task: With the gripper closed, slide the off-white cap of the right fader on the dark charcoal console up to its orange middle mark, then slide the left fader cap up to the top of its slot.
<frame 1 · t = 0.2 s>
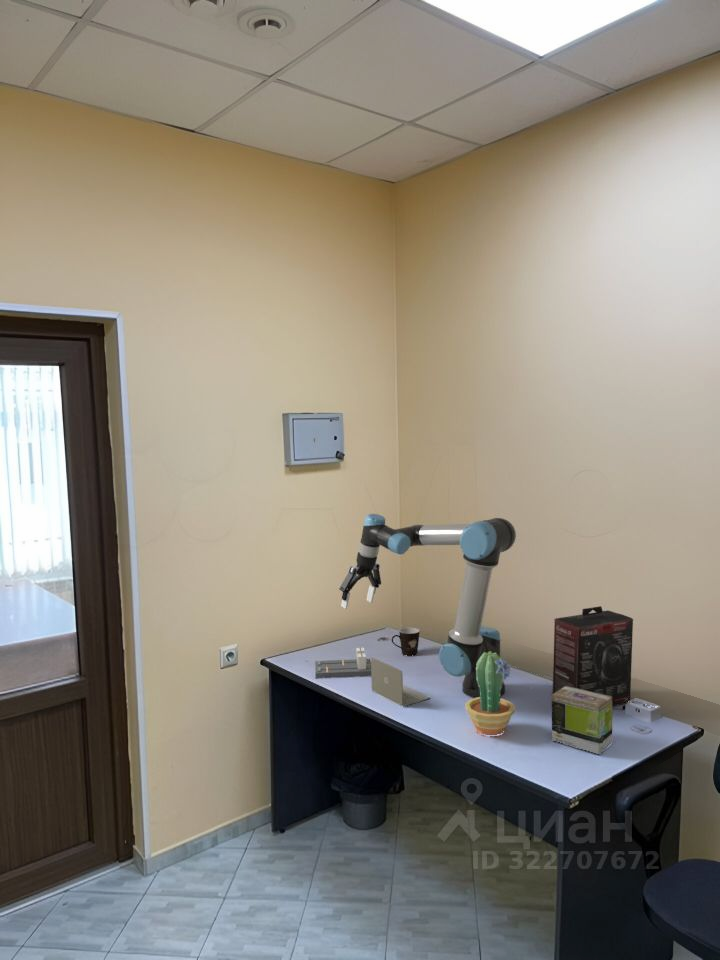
hand: (356, 604, 269), 27 cm above the table, tool tilted 15°, fingers open, 13 cm apart
tea box: (581, 743, 208), on the table
console: (343, 670, 273), on the table
laptop: (400, 696, 248), on the table
coffee mug: (406, 654, 292), on the table
fader right: (360, 655, 277), point 5 cm above the table, slide at 0.0 cm
fader left: (361, 661, 270), point 5 cm above the table, slide at 0.0 cm
headset box: (592, 703, 237), on the table
potted cactus: (489, 731, 217), on the table
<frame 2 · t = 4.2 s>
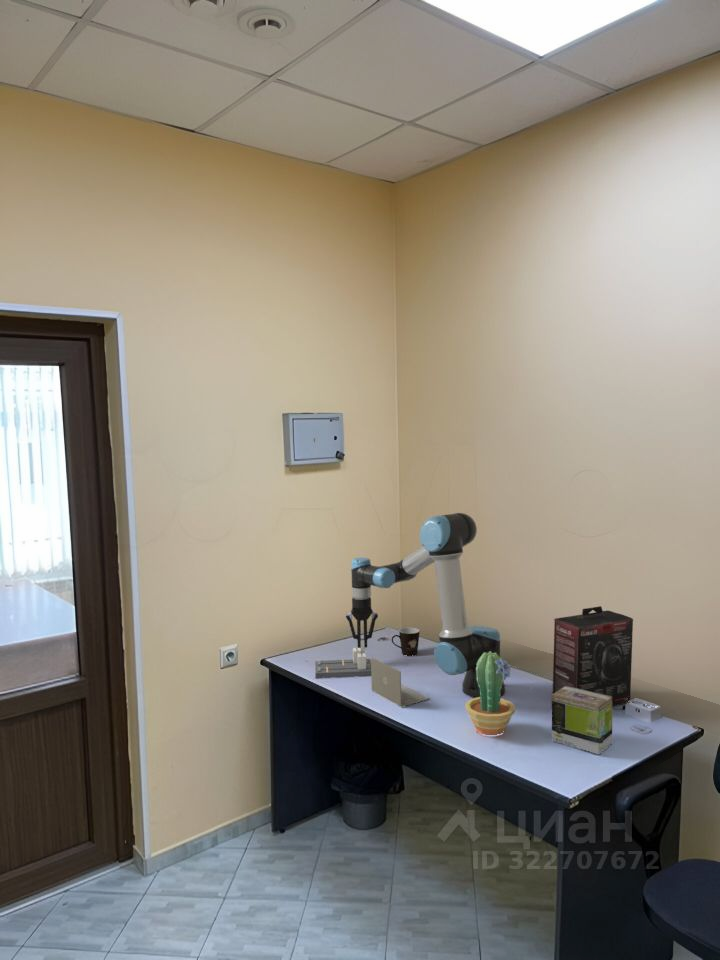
hand: (362, 655, 277), 5 cm above the table, tool pointing down, fingers closed
fader right: (357, 655, 277), point 5 cm above the table, slide at 1.4 cm, touching gripper
everything else where it was.
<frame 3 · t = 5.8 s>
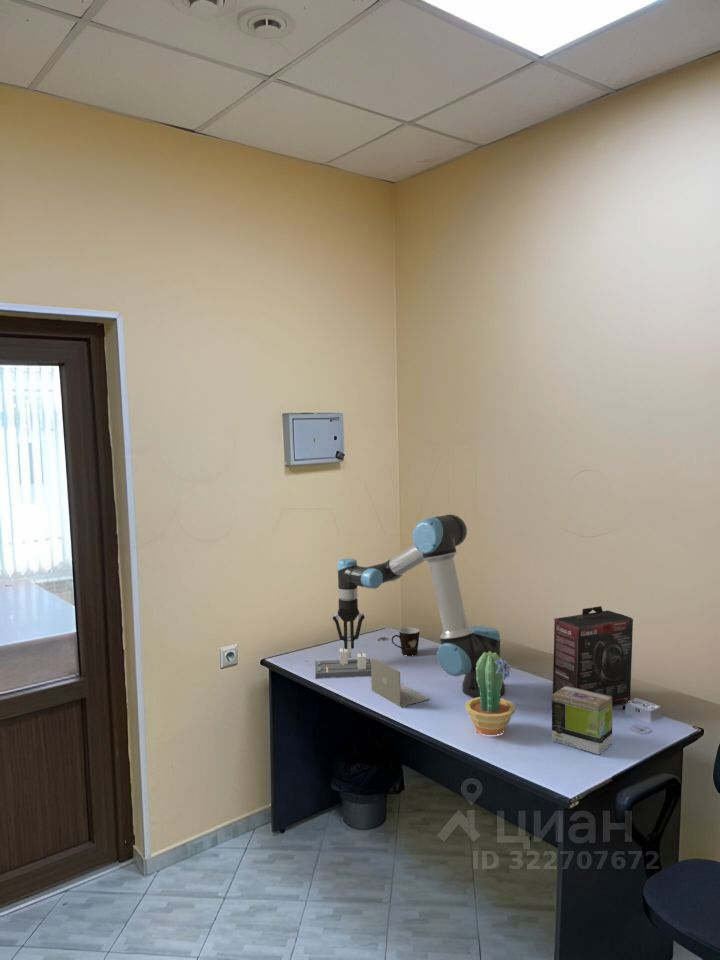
hand: (349, 656, 277), 4 cm above the table, tool pointing down, fingers closed
fader right: (343, 656, 276), point 5 cm above the table, slide at 6.7 cm, touching gripper
everything else where it was.
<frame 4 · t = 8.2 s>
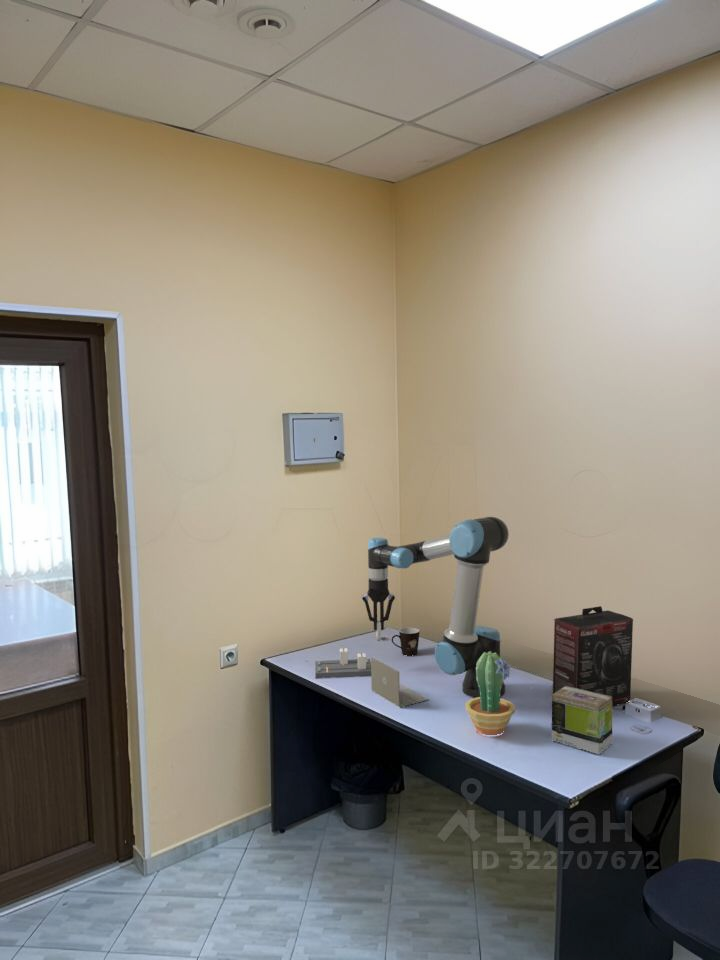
hand: (378, 638, 270), 14 cm above the table, tool pointing down, fingers closed
fader right: (343, 656, 276), point 5 cm above the table, slide at 6.7 cm
everything else where it was.
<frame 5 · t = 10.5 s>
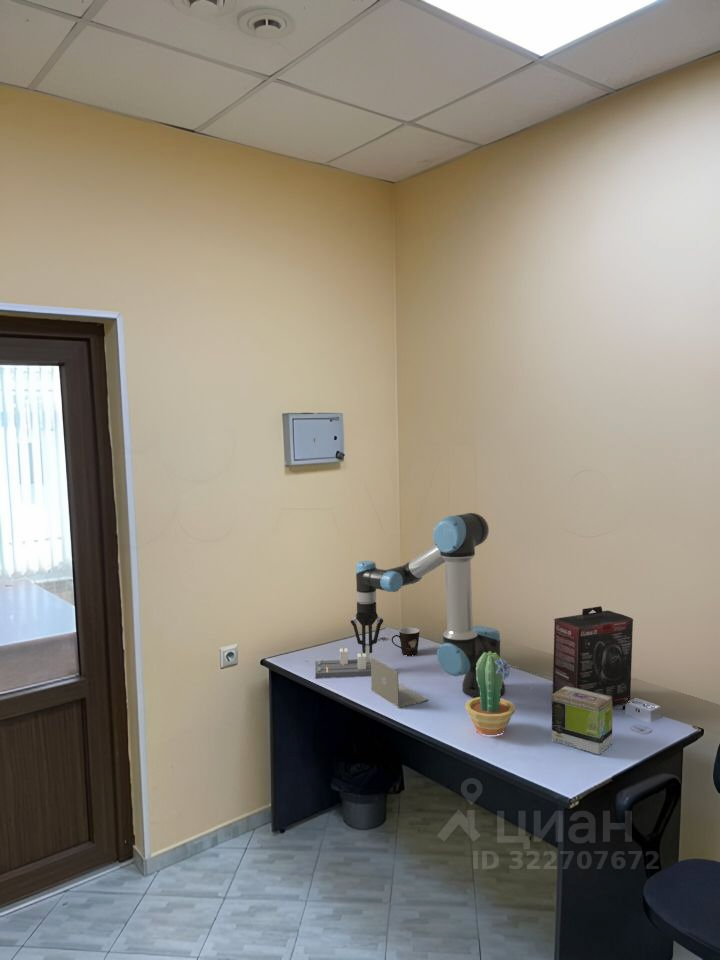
hand: (367, 661, 270), 5 cm above the table, tool pointing down, fingers closed
fader left: (361, 661, 270), point 5 cm above the table, slide at 0.0 cm, touching gripper
everything else where it was.
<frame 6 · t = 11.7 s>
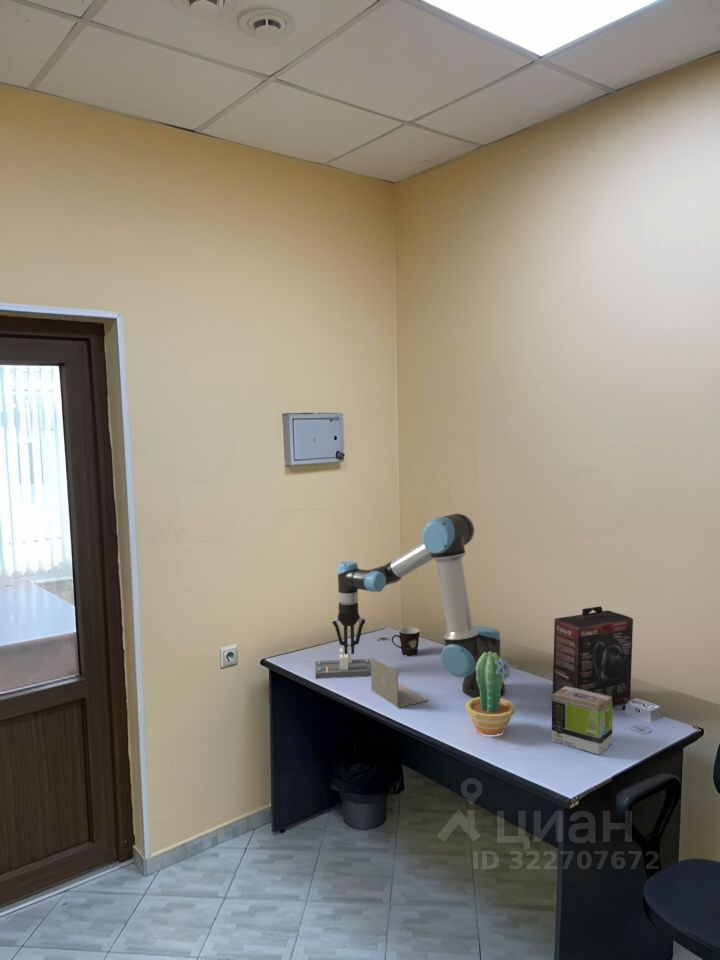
hand: (349, 661, 270), 5 cm above the table, tool pointing down, fingers closed
fader left: (343, 662, 269), point 5 cm above the table, slide at 7.0 cm, touching gripper
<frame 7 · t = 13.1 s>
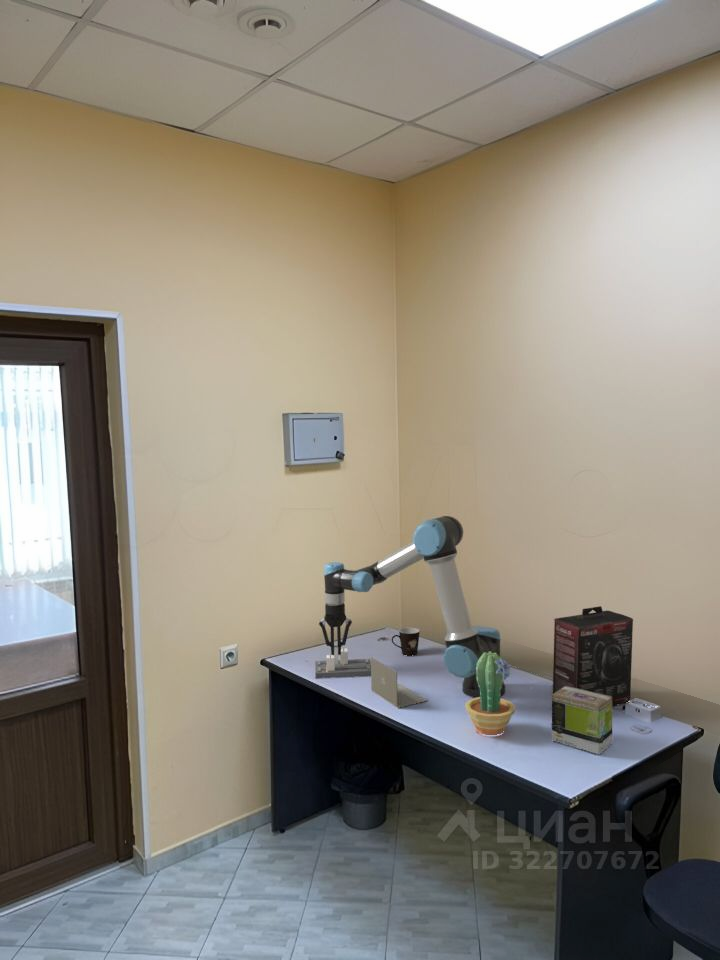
hand: (336, 662, 269), 4 cm above the table, tool pointing down, fingers closed
fader left: (330, 662, 269), point 5 cm above the table, slide at 12.1 cm, touching gripper
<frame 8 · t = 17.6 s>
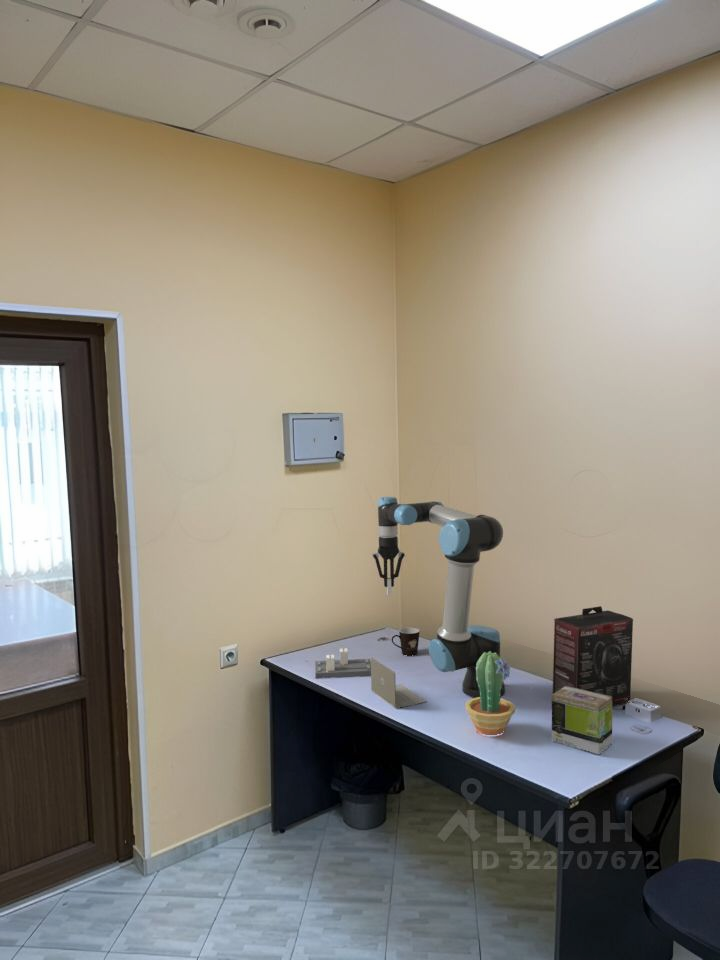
hand: (389, 594, 277), 28 cm above the table, tool pointing down, fingers closed
fader left: (330, 662, 269), point 5 cm above the table, slide at 12.2 cm
at the end: fader right slide at 6.7 cm; fader left slide at 12.2 cm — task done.
